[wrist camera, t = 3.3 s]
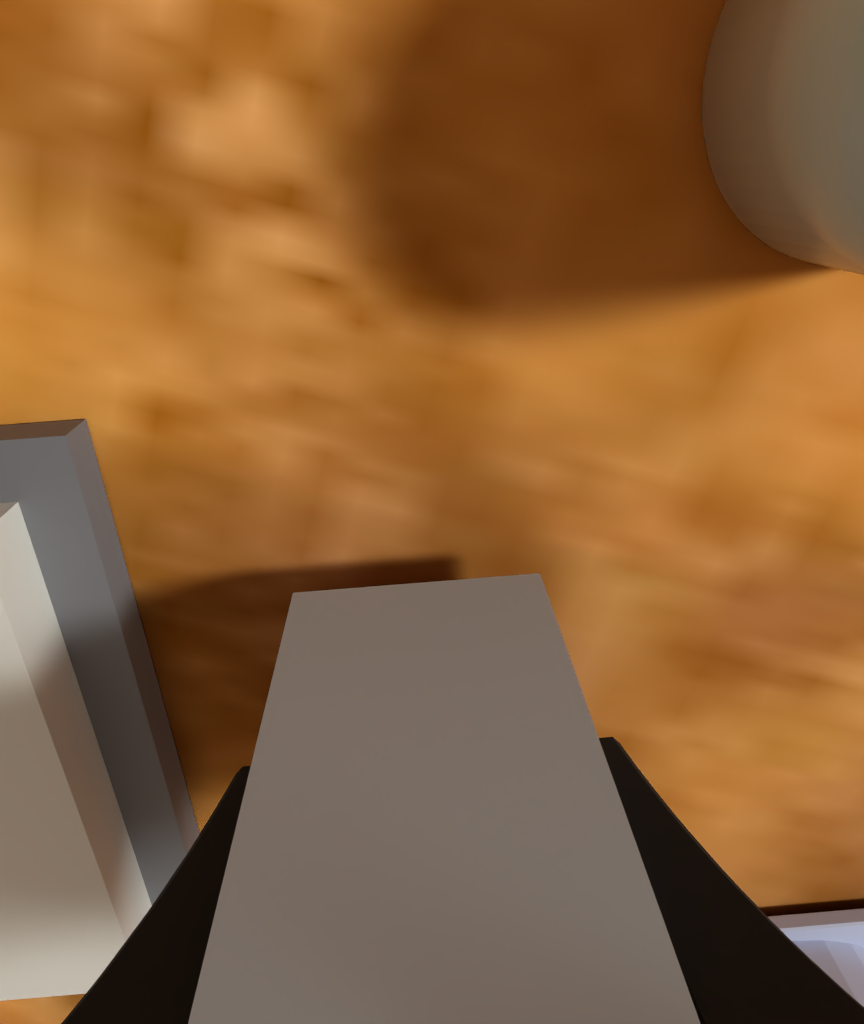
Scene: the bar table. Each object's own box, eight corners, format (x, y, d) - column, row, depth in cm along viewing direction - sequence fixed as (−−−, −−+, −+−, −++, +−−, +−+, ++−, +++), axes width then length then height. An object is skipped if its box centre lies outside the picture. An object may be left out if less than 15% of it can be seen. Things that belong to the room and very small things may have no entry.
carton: (540, 781, 14) (699, 1452, 7) (327, 799, 14) (251, 1494, 7) (540, 573, 12) (761, 1195, 5) (293, 592, 12) (132, 1249, 5)
